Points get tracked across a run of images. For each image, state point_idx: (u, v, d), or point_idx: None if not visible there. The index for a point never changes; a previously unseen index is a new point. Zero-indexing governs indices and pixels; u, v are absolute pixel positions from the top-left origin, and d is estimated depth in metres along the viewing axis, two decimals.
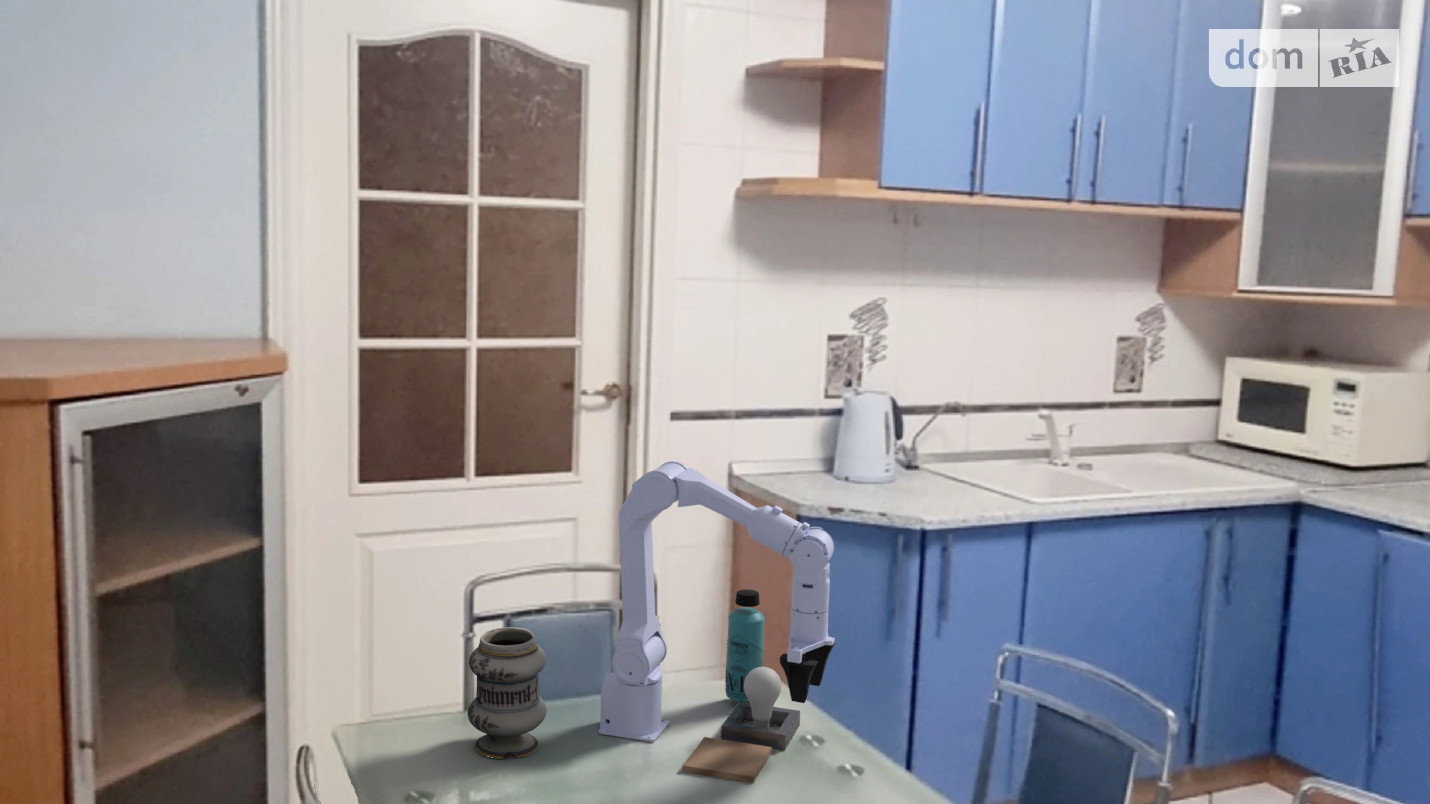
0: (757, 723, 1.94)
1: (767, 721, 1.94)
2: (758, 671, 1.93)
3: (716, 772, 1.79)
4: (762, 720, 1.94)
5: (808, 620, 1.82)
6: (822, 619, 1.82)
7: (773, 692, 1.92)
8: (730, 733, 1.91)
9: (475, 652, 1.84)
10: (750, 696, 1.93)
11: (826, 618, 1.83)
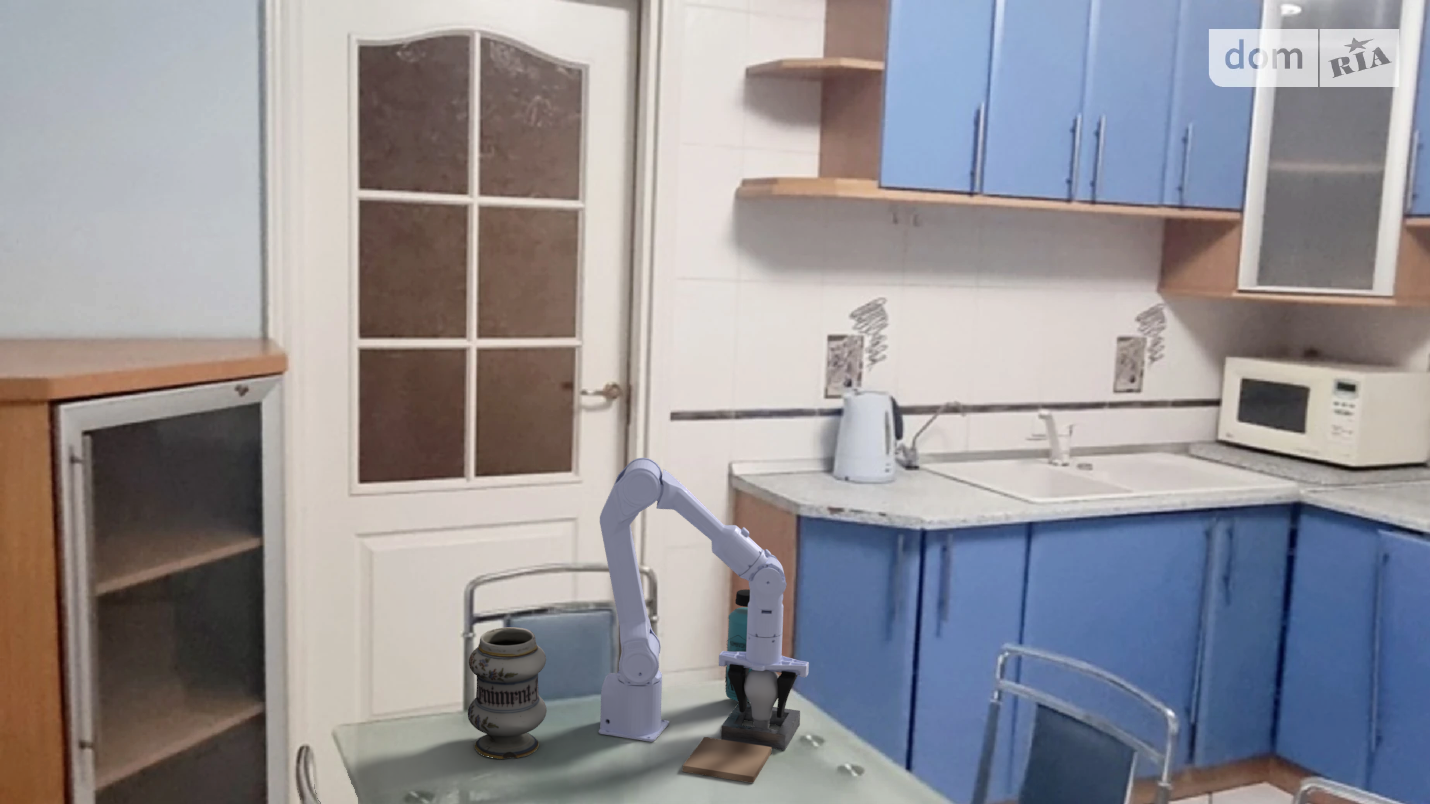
0: (757, 723, 1.94)
1: (767, 721, 1.94)
2: (758, 671, 1.93)
3: (716, 772, 1.79)
4: (762, 720, 1.94)
5: None
6: (751, 641, 1.91)
7: (773, 692, 1.92)
8: (730, 733, 1.91)
9: (475, 652, 1.84)
10: (750, 696, 1.93)
11: (757, 643, 1.91)
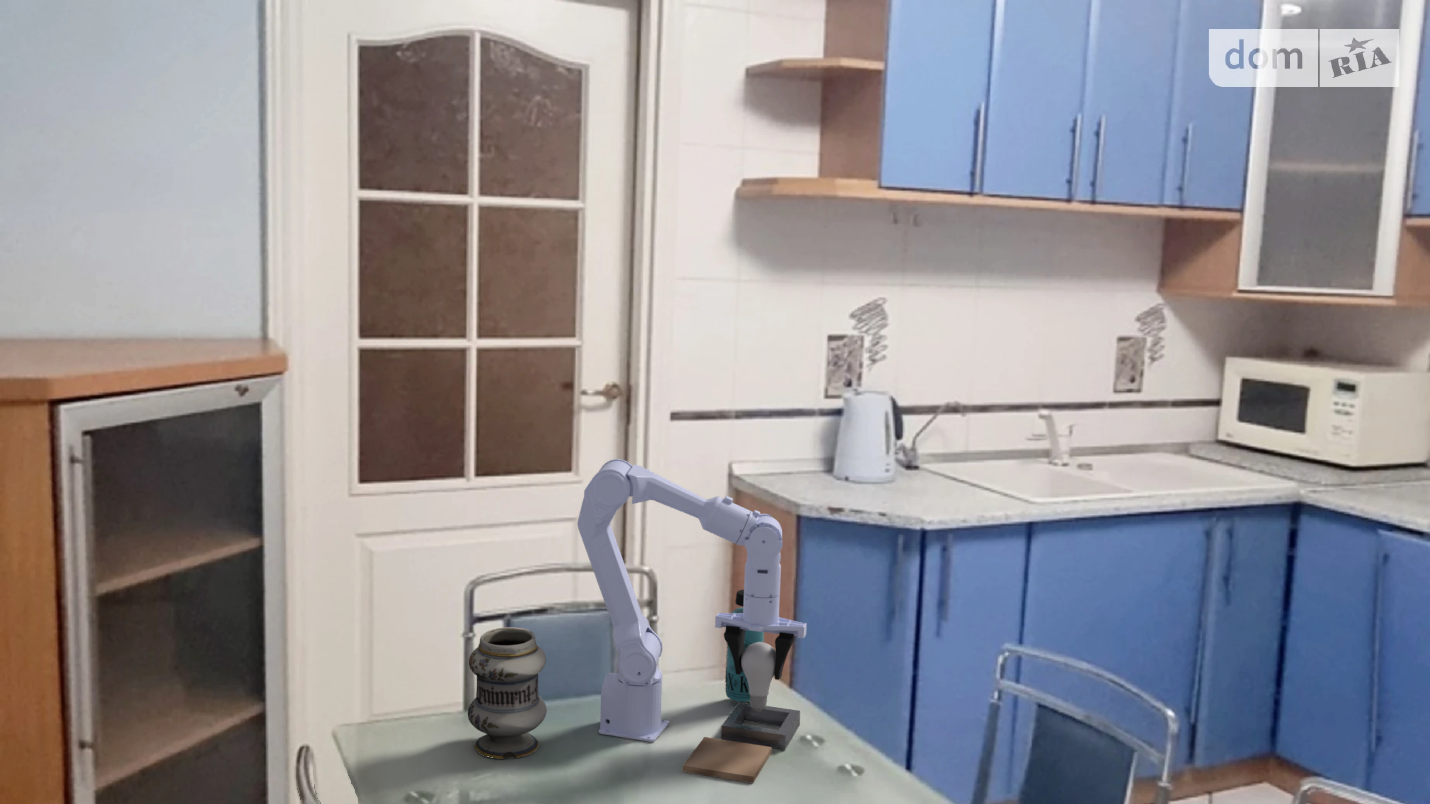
0: (754, 700, 1.91)
1: (764, 698, 1.91)
2: (755, 644, 1.92)
3: (716, 772, 1.79)
4: (759, 697, 1.91)
5: None
6: (749, 602, 1.89)
7: (770, 664, 1.90)
8: (730, 733, 1.91)
9: (475, 652, 1.84)
10: (746, 669, 1.90)
11: (755, 604, 1.88)
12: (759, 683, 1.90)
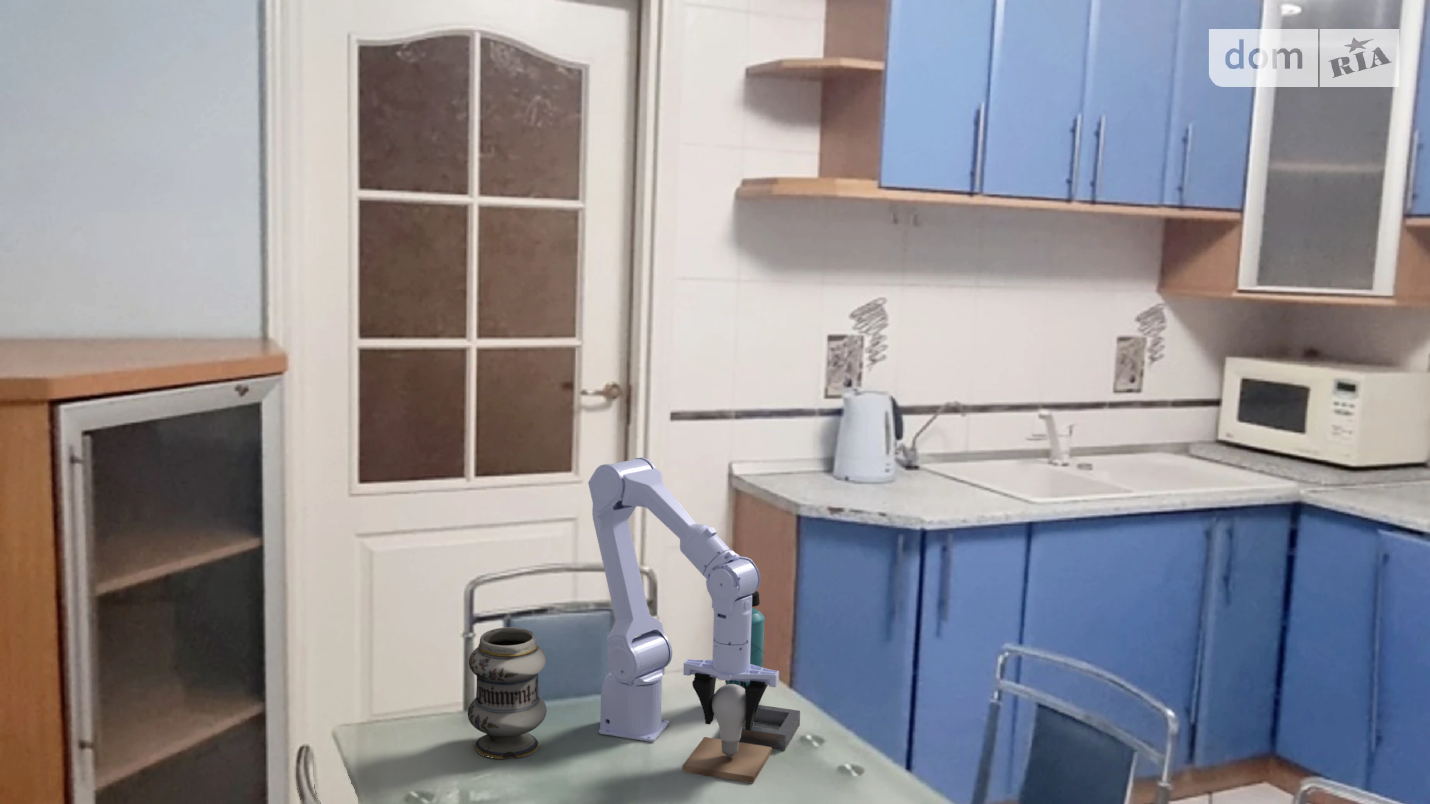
0: (725, 745, 1.82)
1: (736, 743, 1.82)
2: (726, 687, 1.83)
3: (716, 772, 1.79)
4: (730, 742, 1.82)
5: None
6: (718, 649, 1.80)
7: (741, 708, 1.81)
8: None
9: (475, 652, 1.84)
10: (717, 713, 1.82)
11: (724, 651, 1.79)
12: (730, 728, 1.81)
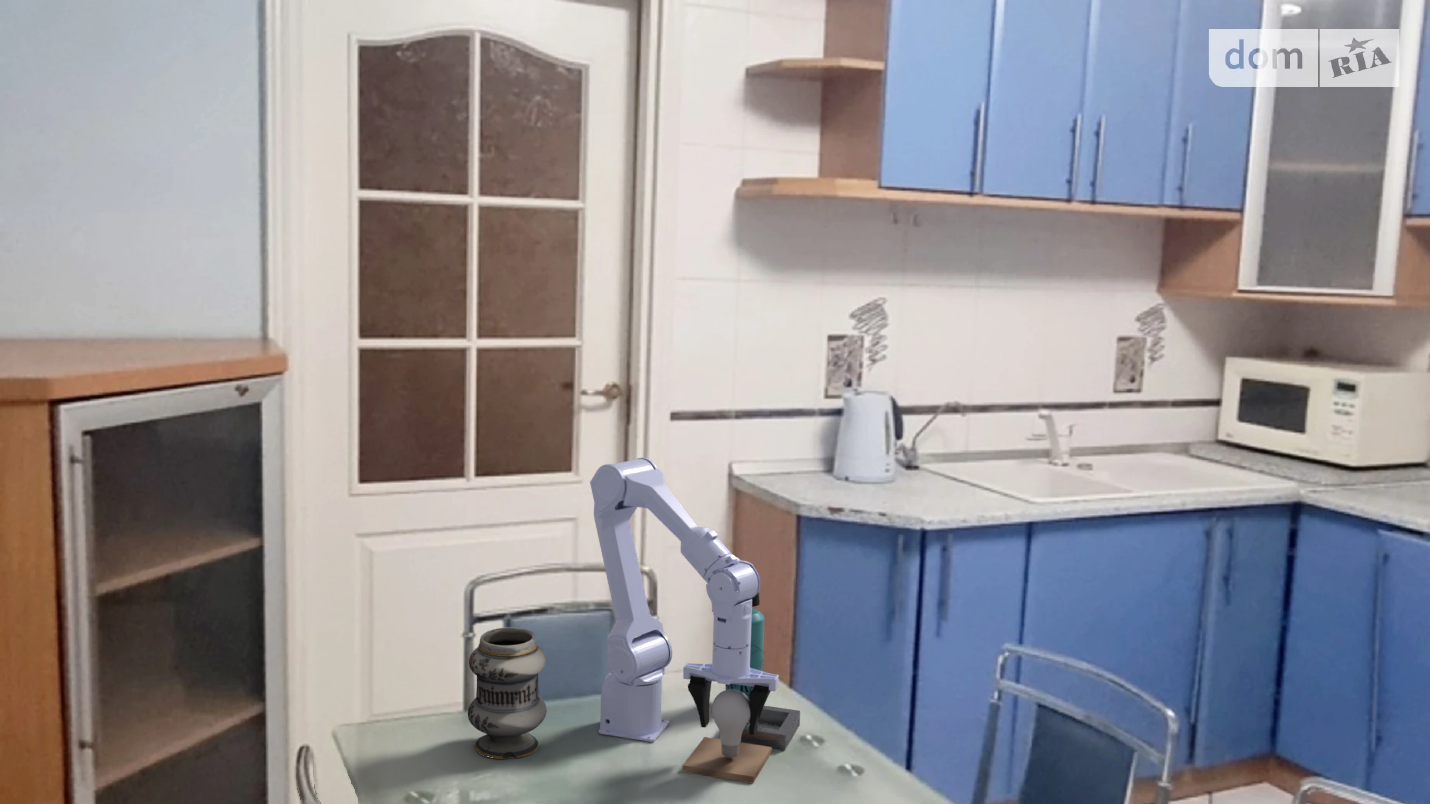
0: (725, 749, 1.82)
1: (736, 747, 1.82)
2: (726, 695, 1.80)
3: (716, 772, 1.79)
4: (730, 746, 1.81)
5: None
6: (717, 653, 1.80)
7: (741, 719, 1.79)
8: None
9: (475, 652, 1.84)
10: (716, 721, 1.80)
11: (724, 655, 1.79)
12: (730, 734, 1.80)
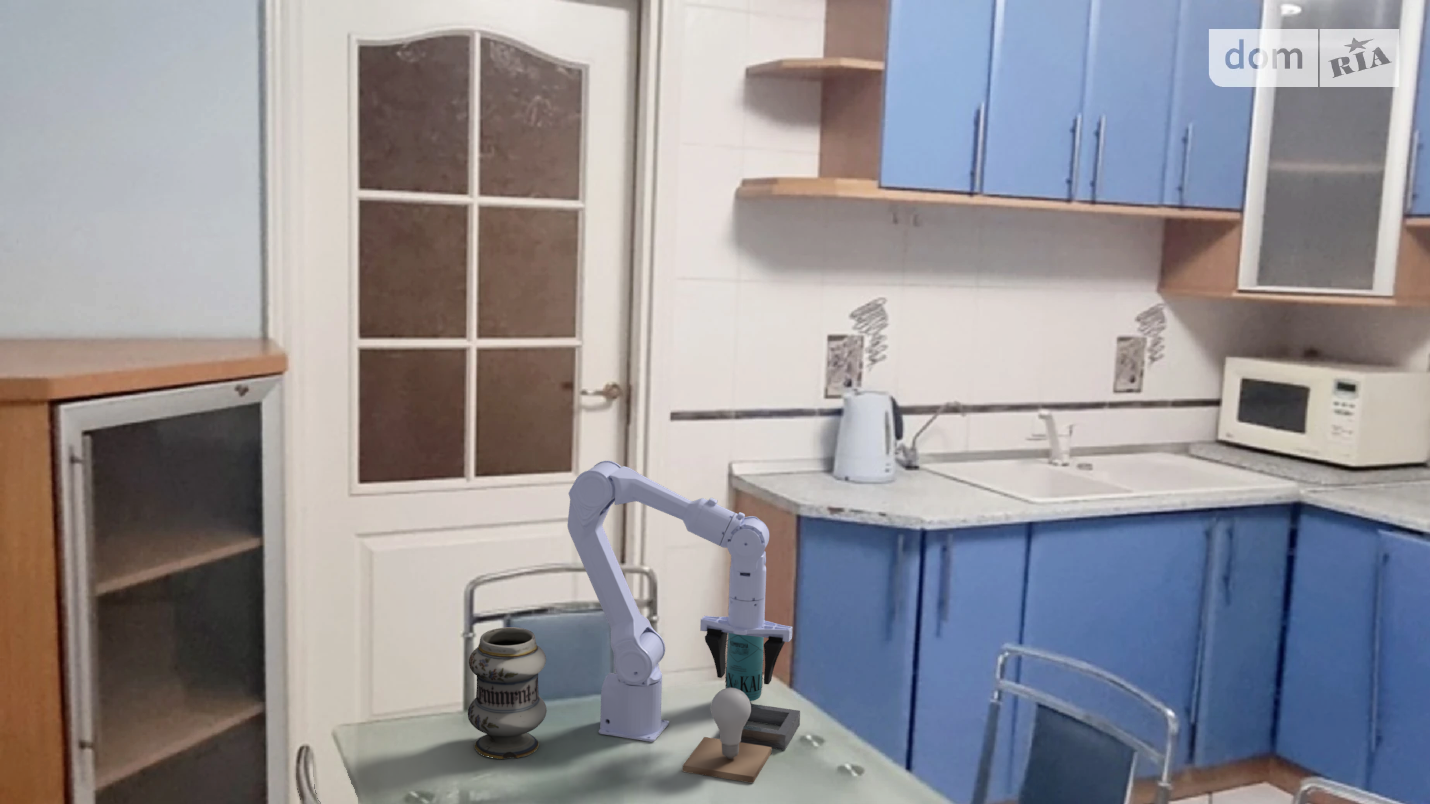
0: (725, 748, 1.82)
1: (736, 746, 1.82)
2: (724, 692, 1.81)
3: (716, 772, 1.79)
4: (730, 745, 1.82)
5: None
6: (733, 605, 1.87)
7: (740, 715, 1.79)
8: None
9: (475, 652, 1.84)
10: (716, 719, 1.80)
11: (739, 607, 1.86)
12: (730, 733, 1.81)
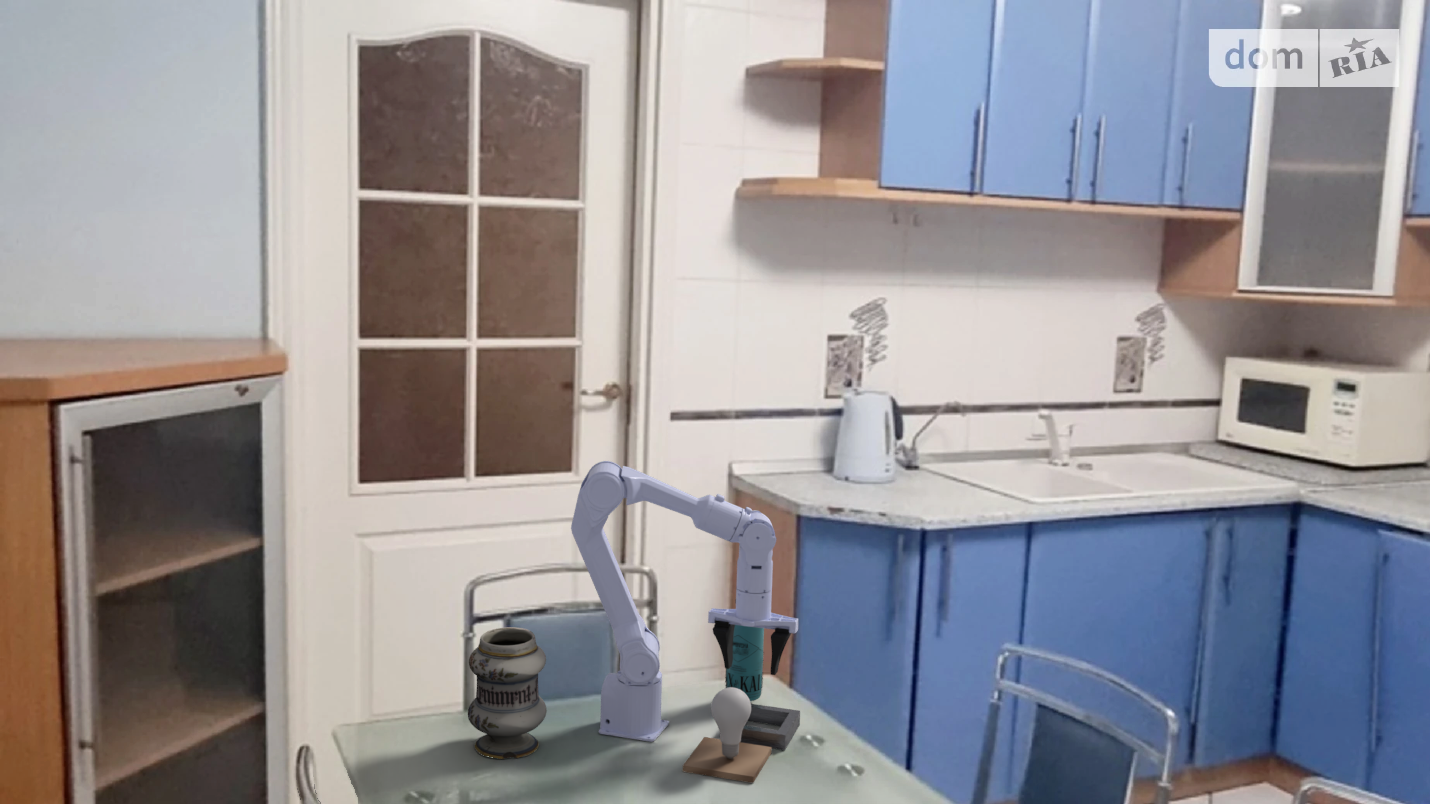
0: (725, 748, 1.82)
1: (736, 746, 1.82)
2: (725, 692, 1.81)
3: (716, 772, 1.79)
4: (730, 745, 1.82)
5: (736, 594, 1.93)
6: (741, 598, 1.91)
7: (741, 715, 1.80)
8: None
9: (475, 652, 1.84)
10: (716, 719, 1.81)
11: (747, 599, 1.90)
12: (730, 732, 1.81)
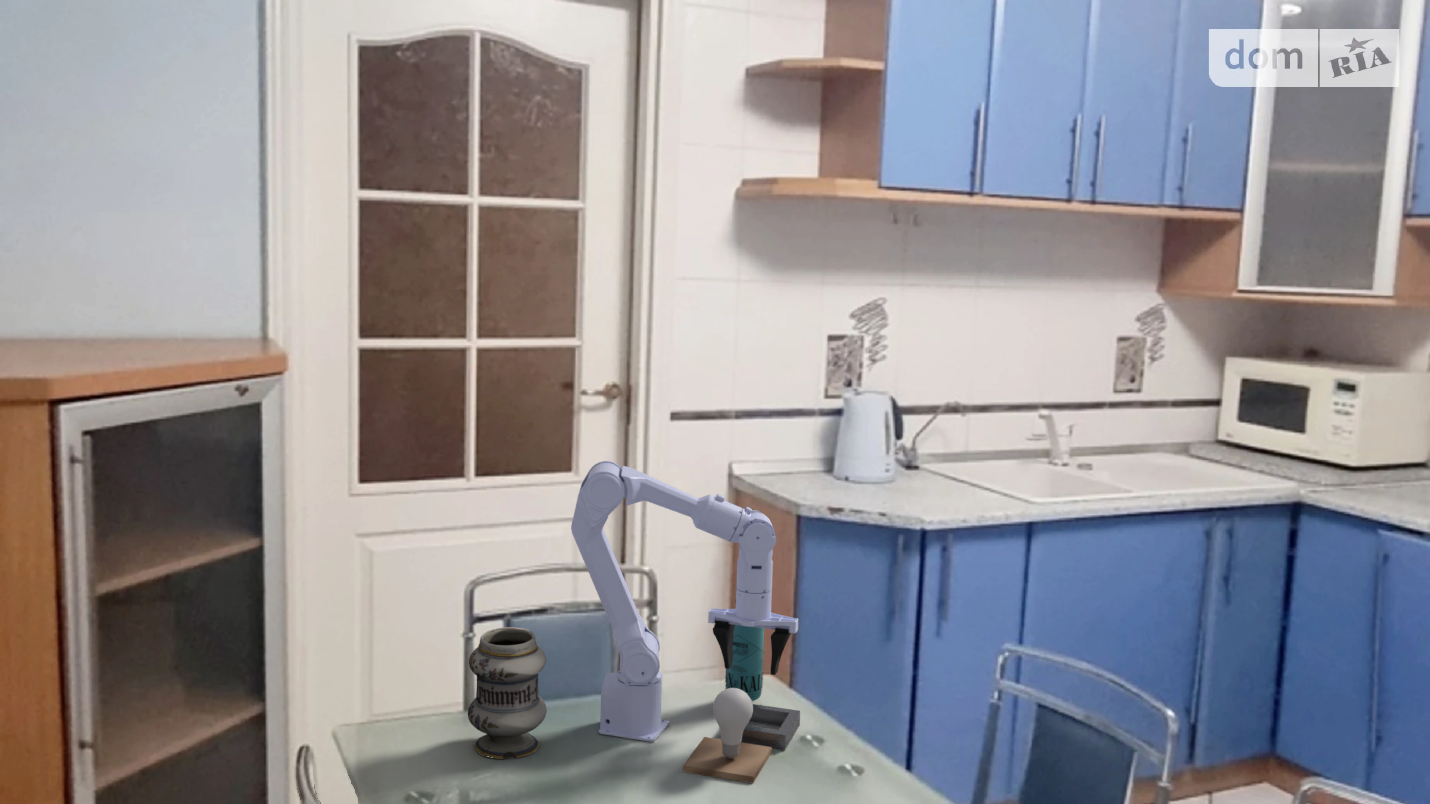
0: (725, 748, 1.82)
1: (736, 746, 1.82)
2: (727, 692, 1.81)
3: (716, 772, 1.79)
4: (731, 745, 1.82)
5: (736, 594, 1.93)
6: (741, 598, 1.91)
7: (742, 716, 1.79)
8: None
9: (475, 652, 1.84)
10: (718, 719, 1.80)
11: (747, 599, 1.90)
12: (731, 733, 1.81)
